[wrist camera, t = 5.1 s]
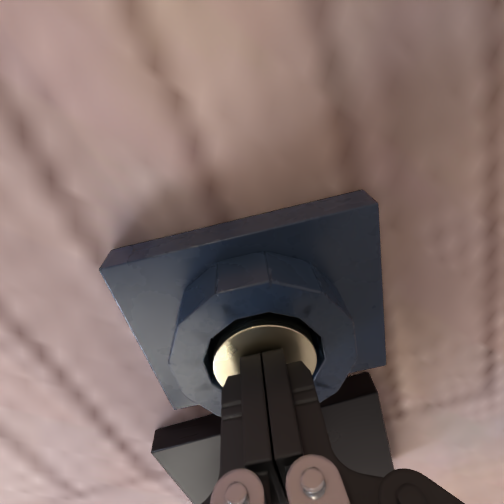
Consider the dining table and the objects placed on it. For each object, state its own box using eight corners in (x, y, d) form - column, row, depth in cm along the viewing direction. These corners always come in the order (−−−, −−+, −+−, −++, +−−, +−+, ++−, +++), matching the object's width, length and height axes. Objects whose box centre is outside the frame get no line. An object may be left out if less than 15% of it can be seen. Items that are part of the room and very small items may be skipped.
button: (228, 372, 14) (228, 409, 13) (202, 305, 12) (199, 339, 11) (312, 354, 14) (323, 389, 12) (298, 284, 12) (309, 314, 11)
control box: (178, 384, 17) (167, 453, 14) (110, 249, 13) (75, 304, 10) (374, 342, 17) (407, 404, 13) (363, 188, 13) (406, 227, 10)
